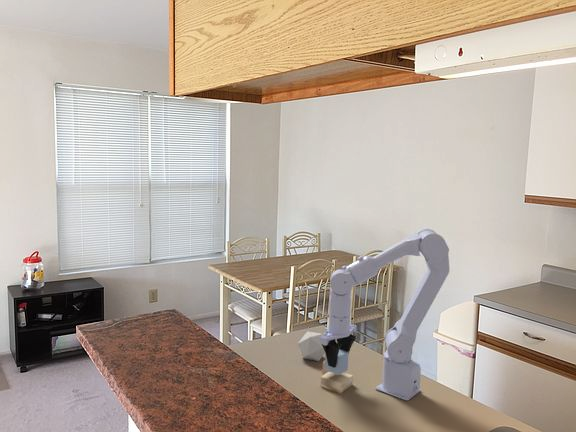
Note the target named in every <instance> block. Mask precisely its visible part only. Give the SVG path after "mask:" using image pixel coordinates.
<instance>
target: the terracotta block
mask: <svg viewBox="0 0 576 432" xmlns="http://www.w3.org/2000/svg"><path fill="white" fill-rule="evenodd" d="M327 372H329V371H326V370H325V359H324V360H323V361H322V374H321V376H323V375H324V374H326V373H327Z"/></svg>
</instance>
